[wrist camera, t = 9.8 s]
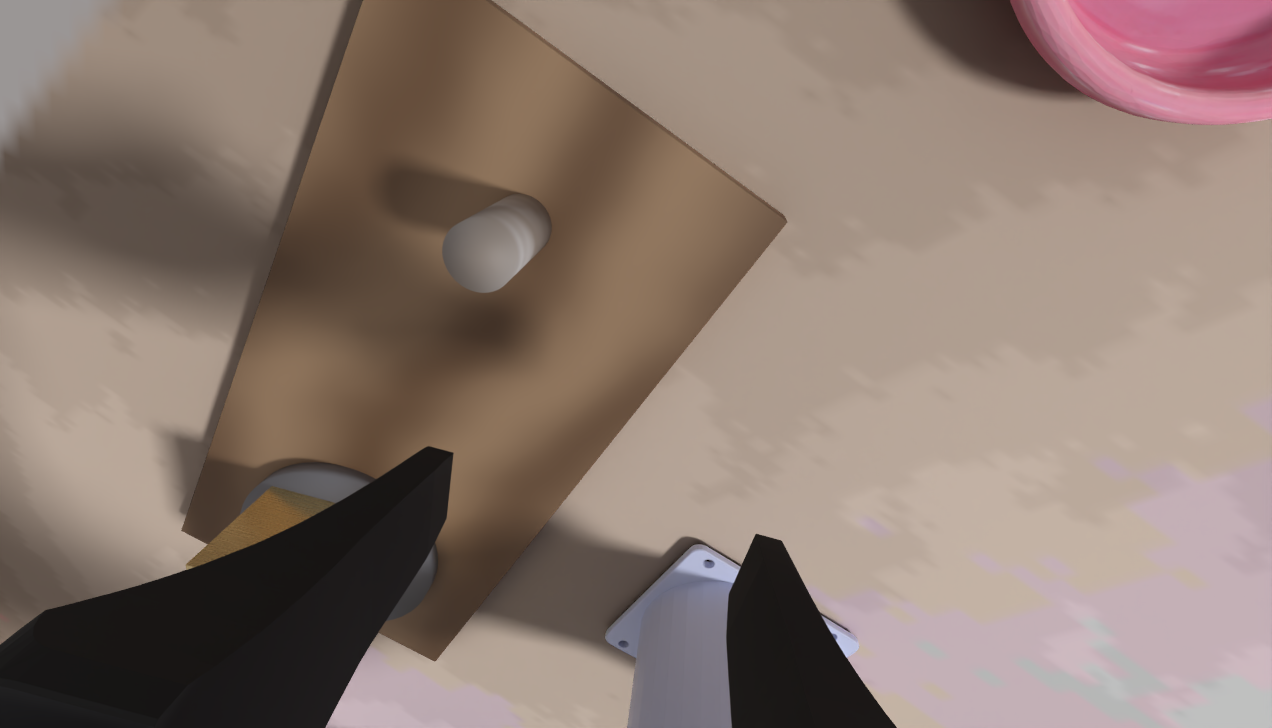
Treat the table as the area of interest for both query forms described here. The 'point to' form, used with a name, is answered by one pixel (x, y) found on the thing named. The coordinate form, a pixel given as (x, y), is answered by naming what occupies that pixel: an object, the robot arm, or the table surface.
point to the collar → (261, 522)
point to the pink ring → (1160, 55)
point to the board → (455, 345)
